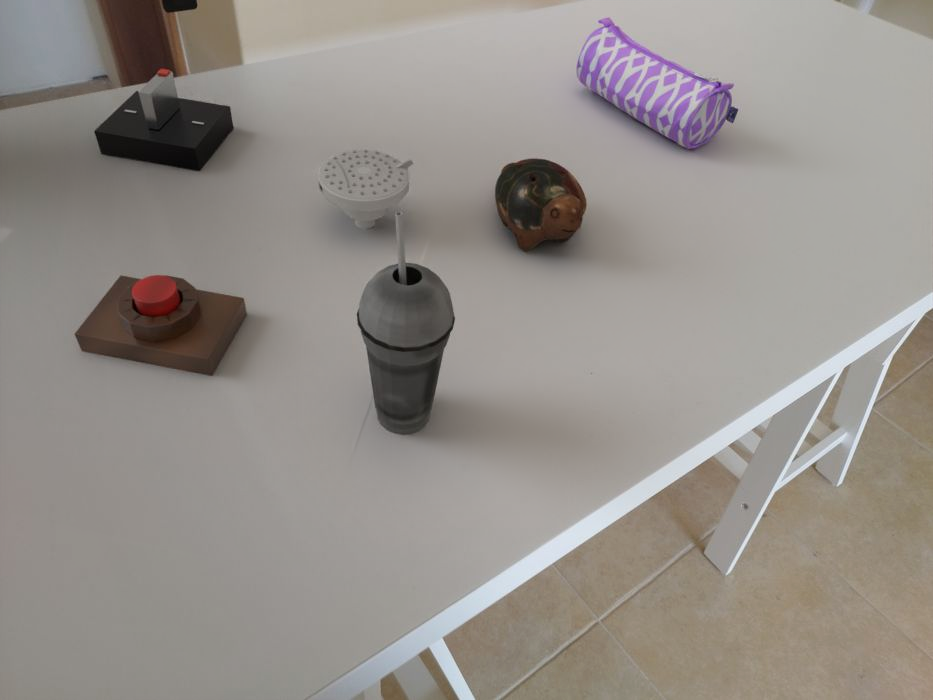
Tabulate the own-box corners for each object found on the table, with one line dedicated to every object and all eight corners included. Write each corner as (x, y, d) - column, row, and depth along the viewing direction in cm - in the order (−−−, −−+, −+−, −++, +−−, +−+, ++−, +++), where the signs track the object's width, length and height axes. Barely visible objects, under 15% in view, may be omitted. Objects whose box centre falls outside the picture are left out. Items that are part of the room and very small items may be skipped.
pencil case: (728, 142, 99) (753, 75, 92) (687, 163, 95) (710, 94, 88) (604, 76, 110) (619, 12, 103) (562, 93, 105) (575, 26, 98)
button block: (81, 351, 65) (67, 318, 62) (126, 292, 70) (115, 259, 67) (212, 376, 64) (204, 344, 61) (247, 314, 69) (241, 283, 67)
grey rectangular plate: (159, 130, 84) (149, 91, 81) (147, 128, 85) (137, 89, 81) (180, 107, 88) (172, 69, 85) (169, 105, 88) (160, 67, 85)
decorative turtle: (534, 282, 76) (539, 217, 70) (467, 209, 86) (467, 146, 80) (611, 256, 79) (623, 192, 74) (538, 189, 89) (543, 127, 83)
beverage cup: (390, 462, 59) (392, 272, 45) (344, 403, 63) (332, 210, 49) (462, 423, 63) (486, 234, 48) (415, 369, 66) (423, 179, 52)
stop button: (129, 313, 63) (123, 298, 62) (148, 286, 66) (144, 271, 65) (168, 321, 63) (164, 306, 62) (187, 293, 66) (183, 278, 64)
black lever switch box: (101, 154, 86) (93, 129, 83) (142, 112, 92) (136, 89, 90) (199, 171, 85) (194, 147, 82) (233, 128, 92) (230, 104, 89)
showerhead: (427, 184, 74) (329, 198, 71) (424, 241, 79) (332, 256, 76) (399, 135, 80) (308, 146, 77) (398, 192, 85) (312, 204, 82)
